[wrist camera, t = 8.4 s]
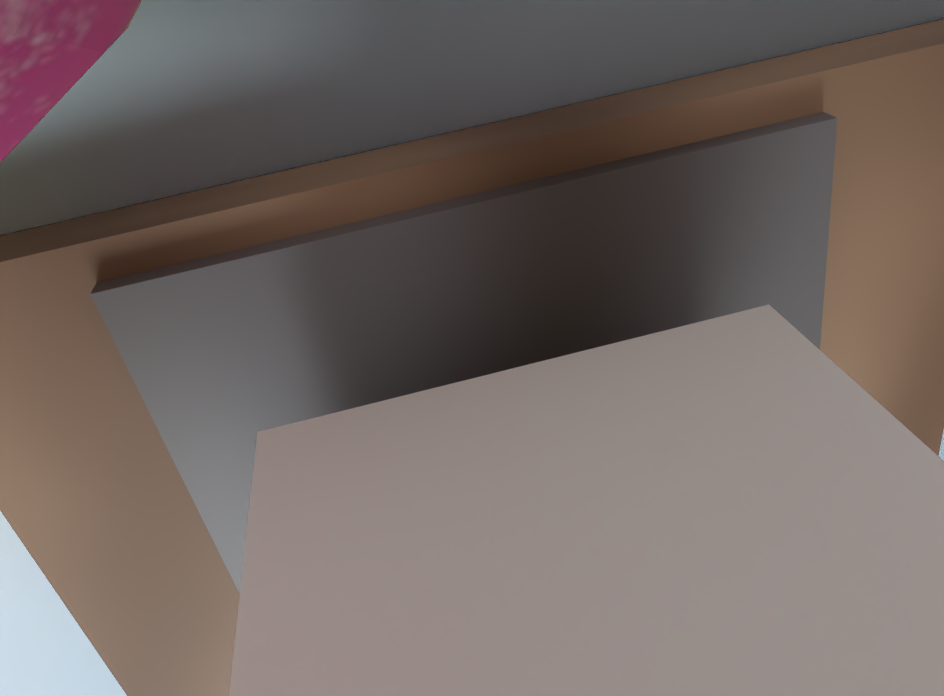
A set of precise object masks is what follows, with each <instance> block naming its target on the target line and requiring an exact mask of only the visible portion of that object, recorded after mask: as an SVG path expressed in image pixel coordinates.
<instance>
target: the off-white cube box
mask: <svg viewBox="0 0 944 696" xmlns="http://www.w3.org/2000/svg"><path fill="white" fill-rule="evenodd" d="M229 696H944V461H943V460H942V459H941V458H940V457H939V456H938V455H936V454H935V453H934V452H933V451H932V450H931V449H930V448H929V447H928V446H926V445H925V444H924V443H923V442H922V441H921V440H920V439H919V438H917V437H916V436H915V435H914V434H913V433H912V432H911V431H910V430H909V429H907V428H906V427H905V426H904V425H903V424H902V423H901V422H900V421H898V420H897V419H896V418H895V417H894V416H893V415H892V414H891V413H890V412H888V411H887V410H886V409H885V408H884V407H883V406H882V405H881V404H880V403H878V402H877V401H876V400H875V399H874V398H873V397H872V396H871V395H869V394H868V393H867V392H866V391H865V390H864V389H863V388H862V387H861V386H859V385H858V384H857V383H856V382H855V381H854V380H853V379H852V378H850V377H849V376H848V375H847V374H846V373H845V372H844V371H843V370H842V369H840V368H839V367H838V366H837V365H836V364H835V363H834V362H833V361H832V360H830V359H829V358H828V357H827V356H826V355H825V354H824V353H823V352H821V351H820V350H819V349H818V348H817V347H816V346H815V345H814V344H813V343H811V342H810V341H809V340H808V339H807V338H806V337H805V336H804V335H802V334H801V333H800V332H799V331H798V330H797V329H796V328H795V327H794V326H792V325H791V324H790V323H789V322H788V321H787V320H786V319H785V318H784V317H782V316H781V315H780V314H779V313H778V312H777V311H776V310H775V309H773V308H772V307H771V306H770V305H765V306H761V307H757V308H753V309H749V310H745V311H741V312H737V313H733V314H729V315H725V316H721V317H717V318H713V319H709V320H705V321H701V322H697V323H693V324H689V325H685V326H681V327H677V328H673V329H669V330H665V331H661V332H657V333H653V334H649V335H645V336H641V337H637V338H633V339H629V340H625V341H621V342H617V343H612V344H608V345H604V346H600V347H596V348H592V349H588V350H584V351H580V352H576V353H572V354H568V355H564V356H560V357H556V358H552V359H548V360H544V361H540V362H536V363H532V364H528V365H524V366H520V367H516V368H512V369H508V370H504V371H500V372H496V373H492V374H488V375H484V376H480V377H476V378H472V379H468V380H464V381H460V382H456V383H452V384H448V385H444V386H440V387H436V388H432V389H428V390H424V391H420V392H416V393H412V394H408V395H404V396H400V397H396V398H392V399H388V400H384V401H380V402H376V403H372V404H368V405H364V406H360V407H356V408H352V409H348V410H344V411H340V412H336V413H332V414H328V415H324V416H320V417H316V418H311V419H307V420H303V421H299V422H295V423H291V424H287V425H283V426H279V427H275V428H271V429H267V430H263V431H259V432H257V441H256V450H255V459H254V469H253V478H252V487H251V497H250V506H249V515H248V525H247V534H246V543H245V553H244V562H243V571H242V581H241V590H240V599H239V609H238V618H237V627H236V637H235V646H234V655H233V665H232V674H231V683H230V693H229Z"/></svg>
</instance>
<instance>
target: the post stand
mask: <svg viewBox="0 0 944 696" xmlns="http://www.w3.org/2000/svg"><path fill="white" fill-rule="evenodd" d="M765 305H770V306H771V307H772V308H773V309H775V310H776V311H777V312H778V313H779V314H780V315H781V316H782V317H784V318H785V319H786V320H787V321H788V322H789V323H790V324H791V325H792V326H794V327H795V328H796V329H797V330H798V331H799V332H800V333H801V334H802V335H804V336H805V337H806V338H807V339H808V340H809V341H810V342H811V343H813V344H814V345H815V346H816V347H817V348H818V349H819V350H820V351H821V352H823V353H824V354H825V355H826V356H827V357H828V358H829V359H830V360H832V361H833V362H834V363H835V364H836V365H837V366H838V367H839V368H840V369H842V370H843V371H844V372H845V373H846V374H847V375H848V376H849V377H850V378H852V379H853V380H854V381H855V382H856V383H857V384H858V385H859V386H861V387H862V388H863V389H864V390H865V391H866V392H867V393H868V394H869V395H871V396H872V397H873V398H874V399H875V400H876V401H877V402H878V403H880V404H881V405H882V406H883V407H884V408H885V409H886V410H887V411H888V412H890V413H891V414H892V415H893V416H894V417H895V418H896V419H897V420H898V421H900V422H901V423H902V424H903V425H904V426H905V427H906V428H907V429H909V430H910V431H911V432H912V433H913V434H914V435H915V436H916V437H917V438H919V439H920V440H921V441H922V442H923V443H924V444H925V445H926V446H928V447H929V448H930V449H931V450H932V451H933V452H934V453H935V454H936V455H939V449H940V444H941V439H942V433H943V428H944V19H942V20H937V21H933V22H929V23H924V24H920V25H916V26H911V27H907V28H903V29H898V30H894V31H889V32H885V33H881V34H876V35H872V36H868V37H863V38H859V39H855V40H850V41H846V42H842V43H837V44H833V45H829V46H824V47H820V48H815V49H811V50H807V51H802V52H798V53H794V54H789V55H785V56H781V57H776V58H772V59H768V60H763V61H759V62H755V63H750V64H746V65H742V66H737V67H733V68H728V69H724V70H720V71H715V72H711V73H707V74H702V75H698V76H694V77H689V78H685V79H681V80H676V81H672V82H668V83H663V84H659V85H655V86H650V87H646V88H641V89H637V90H633V91H628V92H624V93H620V94H615V95H611V96H607V97H602V98H598V99H594V100H589V101H585V102H581V103H576V104H572V105H567V106H563V107H559V108H554V109H550V110H546V111H541V112H537V113H533V114H528V115H524V116H520V117H515V118H511V119H507V120H502V121H498V122H494V123H489V124H485V125H480V126H476V127H472V128H467V129H463V130H459V131H454V132H450V133H446V134H441V135H437V136H433V137H428V138H424V139H420V140H415V141H411V142H406V143H402V144H398V145H393V146H389V147H385V148H380V149H376V150H372V151H367V152H363V153H359V154H354V155H350V156H346V157H341V158H337V159H333V160H328V161H324V162H319V163H315V164H311V165H306V166H302V167H298V168H293V169H289V170H285V171H280V172H276V173H272V174H267V175H263V176H259V177H254V178H250V179H246V180H241V181H237V182H232V183H228V184H224V185H219V186H215V187H211V188H206V189H202V190H198V191H193V192H189V193H185V194H180V195H176V196H172V197H167V198H163V199H158V200H154V201H150V202H145V203H141V204H137V205H132V206H128V207H124V208H119V209H115V210H111V211H106V212H102V213H98V214H93V215H89V216H85V217H80V218H76V219H71V220H67V221H63V222H58V223H54V224H50V225H45V226H41V227H37V228H32V229H28V230H24V231H19V232H15V233H11V234H6V235H2V236H0V511H1V512H2V514H3V515H4V517H5V518H6V519H7V521H8V522H9V524H10V525H11V527H12V528H13V530H14V531H15V533H16V534H17V535H18V537H19V538H20V540H21V541H22V543H23V544H24V546H25V547H26V549H27V550H28V552H29V553H30V554H31V556H32V557H33V559H34V560H35V562H36V563H37V565H38V566H39V568H40V569H41V570H42V572H43V573H44V575H45V576H46V578H47V579H48V581H49V582H50V584H51V585H52V587H53V588H54V589H55V591H56V592H57V594H58V595H59V597H60V598H61V600H62V601H63V603H64V604H65V605H66V607H67V608H68V610H69V611H70V613H71V614H72V616H73V617H74V619H75V620H76V622H77V623H78V624H79V626H80V627H81V629H82V630H83V632H84V633H85V635H86V636H87V638H88V639H89V640H90V642H91V643H92V645H93V646H94V648H95V649H96V651H97V652H98V654H99V655H100V657H101V658H102V659H103V661H104V662H105V664H106V665H107V667H108V668H109V670H110V671H111V673H112V674H113V675H114V677H115V678H116V680H117V681H118V683H119V684H120V686H121V687H122V689H123V690H124V692H125V693H126V694H127V696H229V693H230V683H231V674H232V665H233V655H234V646H235V637H236V627H237V618H238V609H239V599H240V590H241V581H242V571H243V562H244V553H245V543H246V534H247V525H248V515H249V506H250V497H251V487H252V478H253V469H254V459H255V450H256V441H257V432H259V431H263V430H267V429H271V428H275V427H279V426H283V425H287V424H291V423H295V422H299V421H303V420H307V419H311V418H316V417H320V416H324V415H328V414H332V413H336V412H340V411H344V410H348V409H352V408H356V407H360V406H364V405H368V404H372V403H376V402H380V401H384V400H388V399H392V398H396V397H400V396H404V395H408V394H412V393H416V392H420V391H424V390H428V389H432V388H436V387H440V386H444V385H448V384H452V383H456V382H460V381H464V380H468V379H472V378H476V377H480V376H484V375H488V374H492V373H496V372H500V371H504V370H508V369H512V368H516V367H520V366H524V365H528V364H532V363H536V362H540V361H544V360H548V359H552V358H556V357H560V356H564V355H568V354H572V353H576V352H580V351H584V350H588V349H592V348H596V347H600V346H604V345H608V344H612V343H617V342H621V341H625V340H629V339H633V338H637V337H641V336H645V335H649V334H653V333H657V332H661V331H665V330H669V329H673V328H677V327H681V326H685V325H689V324H693V323H697V322H701V321H705V320H709V319H713V318H717V317H721V316H725V315H729V314H733V313H737V312H741V311H745V310H749V309H753V308H757V307H761V306H765Z"/></svg>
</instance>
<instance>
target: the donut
mask: <svg viewBox="0 0 944 696" xmlns="http://www.w3.org/2000/svg"><path fill="white" fill-rule="evenodd" d="M141 1H142V0H0V162H1V161H2V160H3V159H4V158H5V157H6V156H7V155H8V154H9V153H10V152H11V151H12V150H13V149H14V147H15V146H16V145H17V144H18V143H19V142H20V141H21V140H22V139H23V138H24V137H25V136H26V135H27V134H28V133H29V132H30V131H31V130H32V129H33V128H34V126H35V125H36V124H37V123H38V122H39V121H40V120H41V119H42V118H43V117H44V116H45V115H46V114H47V113H48V112H49V111H50V110H51V108H52V107H53V106H54V105H55V104H56V103H57V102H58V101H59V100H60V99H61V98H62V97H63V96H64V95H65V94H66V93H67V92H68V90H69V89H70V88H71V87H72V86H73V85H74V84H75V83H76V82H77V81H78V80H79V79H80V78H81V77H82V76H83V75H84V73H85V72H86V71H87V70H88V69H89V68H90V67H91V66H92V65H93V64H94V63H95V62H96V61H97V60H98V59H99V58H100V57H101V55H102V54H103V53H104V52H105V51H106V50H107V49H108V48H109V47H110V46H111V45H112V44H113V43H114V42H115V41H116V39H117V38H118V37H119V36H120V35H121V34H122V33H123V32H124V31H125V30H126V29H127V28H128V26H129V24H130V22H131V20H132V18H133V16H134V14H135V12H136V11H137V9H138V7H139V5H140V3H141Z"/></svg>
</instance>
